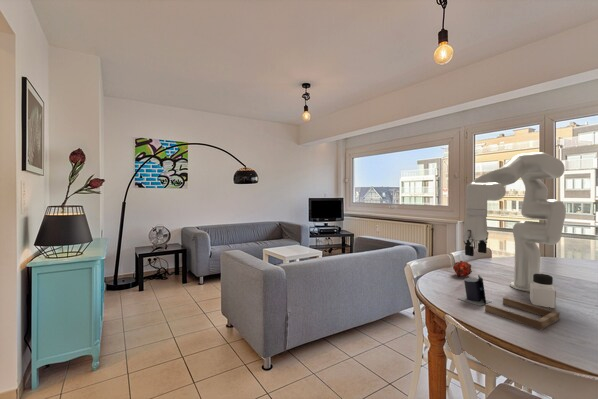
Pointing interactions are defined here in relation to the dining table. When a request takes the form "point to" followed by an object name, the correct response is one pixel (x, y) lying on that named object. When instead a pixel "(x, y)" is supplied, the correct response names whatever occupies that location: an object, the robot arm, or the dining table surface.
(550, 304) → the medicine bottle
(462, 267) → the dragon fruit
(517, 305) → the walled lane
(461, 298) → the mat
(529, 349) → the dining table surface
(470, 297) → the speaker
